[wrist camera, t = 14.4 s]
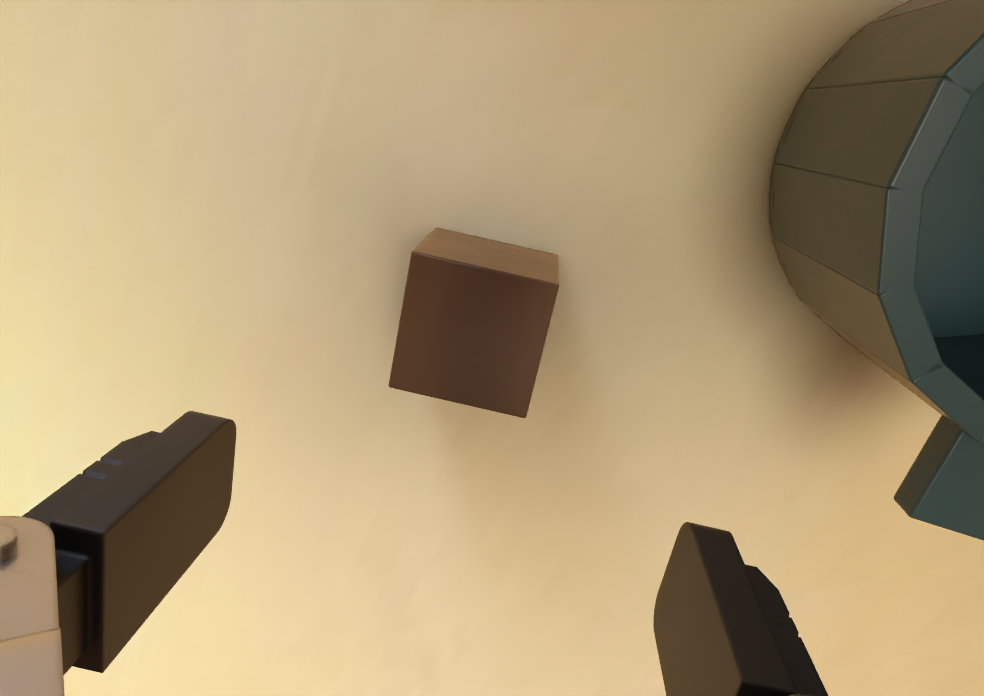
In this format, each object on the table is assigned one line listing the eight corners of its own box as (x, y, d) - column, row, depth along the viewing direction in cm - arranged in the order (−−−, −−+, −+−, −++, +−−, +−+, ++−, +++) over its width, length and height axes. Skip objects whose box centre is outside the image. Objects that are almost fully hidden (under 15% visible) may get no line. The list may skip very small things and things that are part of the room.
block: (415, 342, 26) (387, 387, 22) (436, 227, 24) (411, 250, 20) (530, 369, 26) (525, 419, 22) (558, 254, 24) (559, 284, 20)
